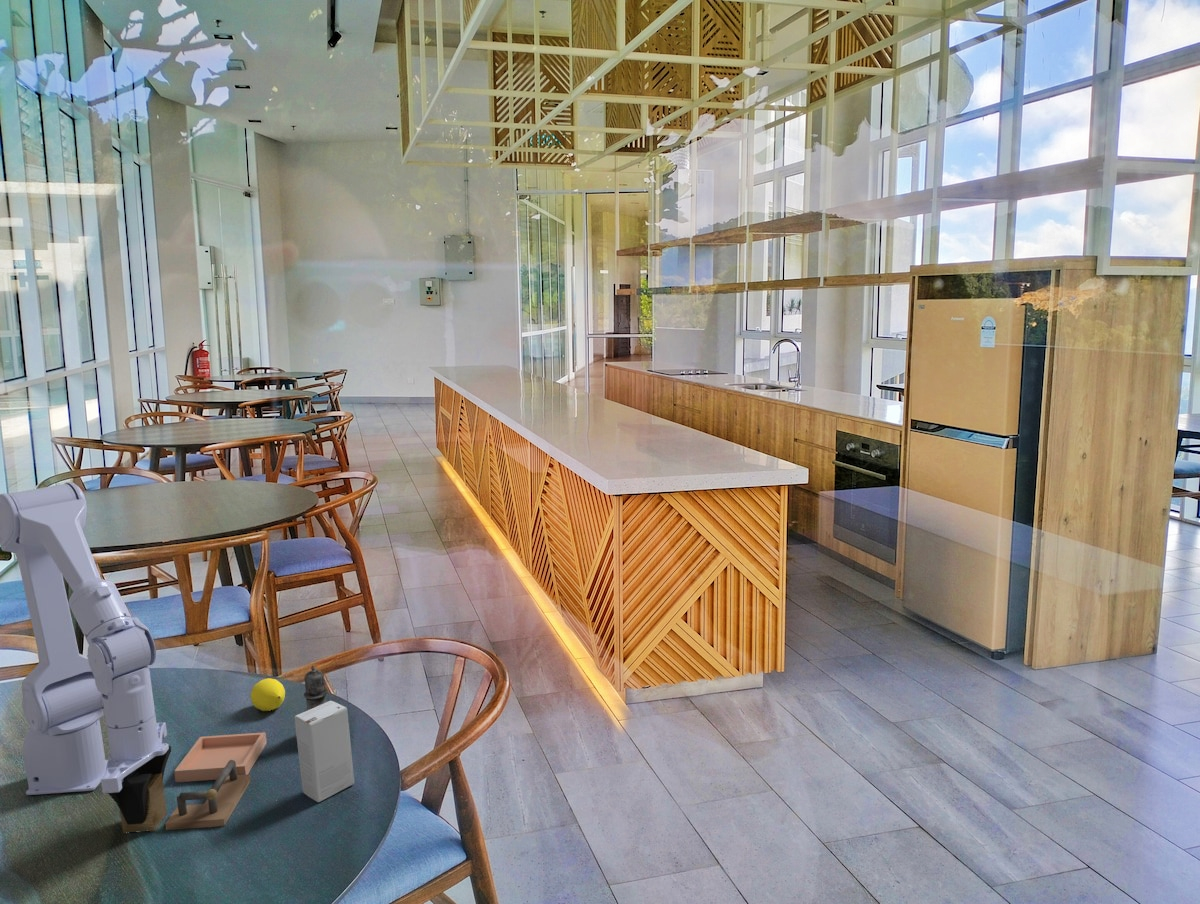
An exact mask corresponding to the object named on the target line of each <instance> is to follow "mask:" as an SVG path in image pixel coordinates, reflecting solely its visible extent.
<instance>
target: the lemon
mask: <svg viewBox="0 0 1200 904" xmlns="http://www.w3.org/2000/svg"><path fill="white" fill-rule="evenodd" d="M249 695H250V699H251V704H252V705H253V706H254V707H255V709H257V710H260V711H262V712H268V711H269V712H271V710H272V711H274V710H276V709H279V707H280V706H281V705H282V704H283V702H284V701H285V697H286V696H285V695H286V690H285V687H284V685H283V684H282V683H281V682H280V681H279V680H277V679H274V678H269V677H268V678H264V679H261V680H260V681H258V682H256V684H254V685H253V686H252V689H251V692H250V694H249Z"/></svg>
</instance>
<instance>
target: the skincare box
mask: <svg viewBox="0 0 1200 904" xmlns="http://www.w3.org/2000/svg"><path fill="white" fill-rule="evenodd" d="M348 714H349V713H348V708H347V707H346V706H344V705H343V704H339V703H338V702H336V701H333V700H329V701H327V702H326V703H324V704H322V705H319V706H317V707H315V708H312V709H310V710H308V711H303V712H301V713H298V714H297V715H295V716H294V726H295V734H296V743H297V750H298V752H297V754H298V761H299V771H300V778H301V779H300V780H301V790H302V793H304V795H306V796H307V797H308V798H310V799H312V800H313V801H315V802H316V803H321V802H323V801H324V800H326V799H328V798H330V797H332V796H333V795H336V794H338V793H339V792H342V791H343V790H345V789H347V788H349V787H351V786H353V785H354V784H355V777H354V776H355V775H354V767H353V757H352V746H351V735H350V726H349V725H350V724H349V717H348V716H349V715H348Z"/></svg>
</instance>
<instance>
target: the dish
mask: <svg viewBox="0 0 1200 904" xmlns="http://www.w3.org/2000/svg"><path fill="white" fill-rule="evenodd" d="M267 742H268V741H267V734H266V732H265V731H263V732H252V733H251V732H250V733H237V734H223V735H222V734H220V735H207V736H199V738H198V739H197V740H196V741H195V743H194V745H192V747H191V748H190V750H189V751H188V752H187V754H186V755H185V756H184V757H183V759H182V760H181V762H180V763H179V764H178V765H177V767H176V768H174V769H175V770H174V771H173V772H174V780H175V783H185V782H198V781H200V782H201V781H213V780H215V781H216V780H217V778H218V777H219V775H220V774H221V772H222V771H223V769H224V768H225V766H226V765H227V763H228V762H229V761H230V760H234V761H235V762H236V770H237V775H247V774H249V773H250V772H251V770H252V768H253V766H254V765H255V763H256V762H257V760H258V758H259V757H260V755H261V753H262V752H263V751H264V748H265V746H266V745H267ZM228 776H229V775H228Z"/></svg>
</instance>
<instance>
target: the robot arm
mask: <svg viewBox="0 0 1200 904" xmlns="http://www.w3.org/2000/svg"><path fill="white" fill-rule="evenodd" d="M87 514H88V506H87V500H86V497H85V494H84V492H83V490H82V489H81V487H79V486H78V485H77V484H76V483H74V482H73V481H67V482H64V483H61V484H57V485H51V486H45V487H38V488H33V489H28V490H23V491H16V492H10V493H5V492H3V493H0V548H1V551H3V552H9V553H14V555H15V558H16V560H17V563H18V566H19V570H20V576H21V580H22V584H23V585H22V586H23V589H24V594H25V598H26V602H27V607H28V608H27V609H28V613H29V615H30V620H31V621H30V623H31V627H32V630H33V635H34V640H35V644H36V649H37V653H38V658H39V662H38V663H37V665H36V666H35V667H34V668H33V669H32V670H31V671H30V672H29V673H28V674H27V675H26V677H25V678H24V679H22V682H21V685H20V686H21V692H22V701H21V703H22V711H23V716H24V719H25V721H26V722H27V725H28V726H29V729H28V730H27V732H26V733H25V736H24V739H23V745H22V756H23V761H24V767H25V774H26V780H27V785H28V789H27V790H26V791H25V795H27V796H32V795H34V796H35V795H48V794H62V793H75V792H89V791H94V790H95V789H96V788H97V787H98V786H99V785H100V784H101V789H102V790H101V791H102V794H108V795H109V797H111V798H112V800H113V801H114V802H115V803H116V805H117V807H118V808H119V811H120V810H121V812H122V815H123V817H124V819H125V821H126V822H127V824H128V825H131V824H142V823H144V821H145V819H146V810H147V808H146V796H147V788H148V784H149V781H150V778H151V775H152V774H157V773H162V779H163V780H164V774H165V770H166V767H167V763H168V759H169V757H170V754H171V752H172V746H171V745H169V743H167V742H165V743H164V742H163V739H164V738H166V737H167V735H168V729H167V724H166V721H165V722H157V718H156V709H155V701H154V695H153V687H152V679H151V673H150V667H148V666H152V665H154V664H155V661H156V658H157V650H156V649H157V648H156V645H155V640H154V637H153V635H152V633H151V631H150V630H149V628H148V627H147V626H146V624H144V623H142V622H141V621H140V619H139V618H138V617H137V616H135V617H134V616H133V617H132V615H131V613H130V611H129V609H128V607H127V606H126V603H125V601H124V600H123V598H122V596H121V594H120V592H119V590H118V588H117V586H116V584H115V583H114V582H112V581H110V580H107V579H103V578H101V575H100V572H99V569H98V567H97V565H96V562H95V559H94V556H93V554H92V551H91V548H90V546H89V543H88V542H87V538H86V536H85V534H84V530H85V528H86V525H87ZM64 579H65V581H66V582H67V584H68V586H69V587H70V589H71V590H72V593H71V595H70V598H69V599H68V595H67V591H66V586H65V581H64ZM71 612H72V614H73V617H74V618H75V620H76V622H77V624H78V627H79V628H80V630H81V633H82V634H83V636H84V638H85V641H86V642H87V644H88V647H87V655H85V654H82V653H80V652H79V648H78V643H77V637H76V633H75V628H74V624H73V619H72V614H71ZM102 717H104V719H105V725H106V727H105V728H106V732H107V741H108V746H109V754H108V757H107V758H108V759H106V756H105V748H104V742H103V735H102V733H103V732H102V727H101V719H100V718H102Z"/></svg>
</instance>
